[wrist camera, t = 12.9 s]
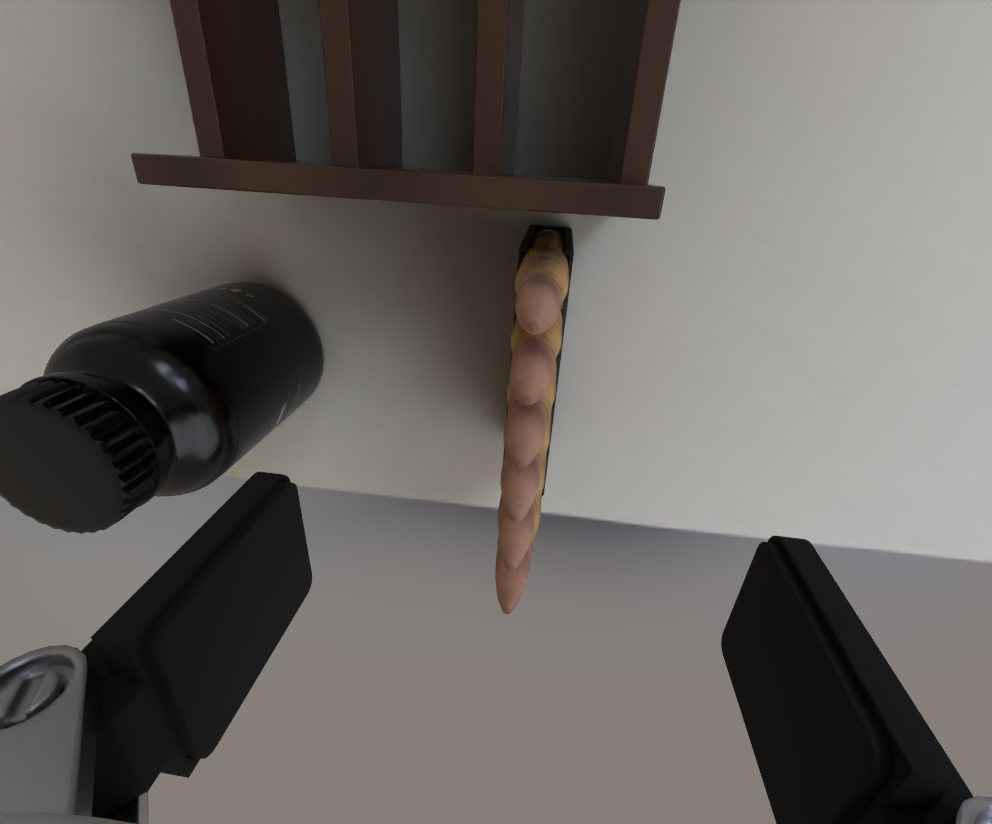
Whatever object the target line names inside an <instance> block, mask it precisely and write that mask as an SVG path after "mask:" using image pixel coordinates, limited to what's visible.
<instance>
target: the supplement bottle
mask: <svg viewBox="0 0 992 824" xmlns="http://www.w3.org/2000/svg"><path fill="white" fill-rule="evenodd" d="M323 364H324V357H323V349H322V345H321V341H320V338H319V335H318V333H317V331H316V329H315V327H314V325H313V323H312V322H311V320H310V319H309V317H308V316H307V315H306V314H305V312H304V311H303V310H302V309H301V308H300V307H299V306H298V305H297V304H296V303H295V302H294V301H292V300H291V299H290V298H288V297H287V296H285V295H284V294H282V293H281V292H279V291H277V290H275V289H273V288H270V287H268V286H265V285H261V284H257V283H251V282H234V283H229V284H224V285H221V286H217V287H213V288H210V289H207V290H204V291H201V292H197V293H194V294H191V295H188V296H185V297H181V298H178V299H175V300H172V301H169V302H166V303H162V304H159V305H156V306H153V307H150V308H147V309H143V310H140V311H137V312H134V313H131V314H127V315H124V316H121V317H118V318H115V319H112V320H108V321H105V322H102V323H99V324H96V325H93V326H91V327H88V328H85V329H83V330H80V331H78V332H77V333H75V334H73V335H71V336H70V337H69V338H67V339H66V340H65V341H63V342H62V343H61V344H60V345H59V347H58V348H57V349H56V350H55V352H54V353H53V354H52V356H51V358H50V359H49V361H48V363H47V366H46V368H45V371H44V375H43V376H41V377H38V378H35V379H33V380H30V381H28V382H26V383H25V384H23V385H22V386H21V387H20V388H18V389H16V390H13V391H10V392H8V393H5V394H3V395H1V396H0V496H2V497H3V498H4V499H6V500H7V501H8V502H9V503H10V505H11V506H13V507H15V508H17V509H19V510H20V511H21V512H22V513H23V514H25V515H26V516H29V517H32V518H33V519H35V520H36V521H37V522H39V523H42V524H46V525H48V526H50V527H52V528H54V529H61V530H64V531H66V532H77V533H81V534H82V533H85V532H90V533H94V532H96V531H98V530H105V529H107V528H109V527H110V526H112V525H113V524H115V523H117V522H119V521H120V520H121V519H123V518H124V517H125V516H127V515H128V514H129V513H130V512H132V511H133V510H134V509H135V508H137V507H139V506H141V505H143V504H145V503H146V502H148V501H149V500H150V499H151V498H153V497H154V496H175V495H182V494H186V493H190V492H194V491H196V490H199V489H201V488H203V487H205V486H207V485H209V484H210V483H212V482H213V481H214V480H216V479H217V478H218V477H220V476H221V475H222V474H223V473H225V472H226V471H227V470H228V469H229V468H230V467H231V466H232V465H234V464H235V463H236V462H237V461H238V460H239V459H240V458H242V457H243V456H244V455H245V454H246V453H247V452H248V451H249V450H251V449H252V448H253V447H254V446H255V445H256V444H257V443H258V442H260V441H261V440H262V439H263V438H264V437H265V436H266V435H268V434H269V433H270V432H271V431H272V430H273V429H274V428H275V427H277V426H278V425H279V424H280V423H281V422H282V421H283V420H284V419H286V418H287V417H288V416H289V415H290V414H291V413H292V412H294V411H295V410H296V409H297V408H298V407H299V406H300V405H301V404H302V403H303V402H304V401H306V400H307V399H308V398H309V397H310V395H311V394H312V393H313V392H314V390H315V389H316V388H317V386H318V384H319V381H320V379H321V376H322V372H323Z"/></svg>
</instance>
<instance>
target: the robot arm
mask: <svg viewBox="0 0 992 824" xmlns="http://www.w3.org/2000/svg"><path fill="white" fill-rule="evenodd" d="M311 583H312V572H311V566H310V561H309V555H308V549H307V543H306V537H305V531H304V525H303V520H302V514H301V509H300V502H299V497H298V490H297V486H296V485H295V484H294V483H291V482H290V479H289V478H288V476H286V475H282V474H274V473H266V472H257V473H255V474H254V475H253V476H252V477H251V478H250V479H249V480H248V481H247V482H246V483H245V484H244V485H243V486H242V487H241V488H240V489H239V490H238V491H237V492H236V493H235V494H234V495H233V496H232V497H231V498H230V499H229V500H228V501H227V502H226V503H225V504H224V505H223V506H222V507H221V508H220V509H219V510H218V511H217V512H216V513H215V514H214V515H213V516H212V517H211V518H210V519H209V520H208V521H207V522H206V523H205V524H204V525H203V526H202V527H201V528H200V529H199V530H198V531H197V532H196V533H195V534H194V535H193V536H192V537H191V538H190V539H189V540H188V541H187V542H186V543H185V544H184V545H183V546H182V547H181V548H180V549H179V550H178V551H177V552H176V553H175V554H174V555H173V556H172V557H171V558H170V559H169V560H168V561H167V562H166V563H165V564H164V565H163V566H162V567H161V568H160V569H159V570H158V571H157V572H156V573H155V574H154V575H153V576H152V577H151V578H150V579H149V580H148V581H147V582H146V583H145V584H144V585H143V586H142V587H141V588H140V589H139V590H138V591H137V592H136V593H135V594H134V595H133V596H132V597H131V598H130V599H129V600H128V601H127V602H126V603H125V604H124V605H123V606H122V607H121V608H120V609H119V610H118V611H117V612H116V613H115V614H114V615H113V616H112V617H111V618H110V619H109V620H108V621H107V622H106V623H105V624H104V625H103V626H102V627H101V628H100V629H99V630H98V631H97V632H96V633H95V634H94V635H93V636H92V637H91V638H92V641H91V642H90V643H89V644H88V645H87V646H86V647H85V648H84V649H83V650H82V651H80V650H79V649H78V648H74V647H71V646H67V645H60V646H48V647H44V648H41V649H37V650H33V651H30V652H28V653H26V654H23V655H21V656H19V657H16V658H14V659H12V660H10V661H8V662H7V663H5V664H4V665H2V666H0V824H148V790H149V789H150V787H151V786H152V784H153V783H154V781H155V780H156V778H157V777H158V775H159V774H160V772H161V773H166V774H172V775H177V776H182V777H189V776H190V775H191V773H192V772H193V770H194V768H195V766H196V765H197V763H198V762H199V760H200V758H201V759H202V758H203V759H204V758H206V757H208V756H209V755H210V754H211V753H212V752H213V750H214V749H215V747H216V746H217V744H218V742H219V741H220V739H221V737H222V736H223V734H224V733H225V731H226V729H227V728H228V726H229V724H230V723H231V721H232V719H233V718H234V716H235V714H236V713H237V711H238V709H239V708H240V706H241V704H242V703H243V701H244V699H245V698H246V696H247V694H248V693H249V691H250V689H251V688H252V686H253V684H254V683H255V681H256V679H257V677H258V676H259V674H260V673H261V671H262V669H263V667H264V666H265V664H266V662H267V661H268V659H269V657H270V656H271V654H272V652H273V651H274V649H275V647H276V646H277V644H278V642H279V641H280V639H281V637H282V636H283V634H284V632H285V631H286V629H287V627H288V626H289V624H290V622H291V621H292V619H293V617H294V615H295V614H296V612H297V611H298V609H299V607H300V606H301V604H302V602H303V601H304V599H305V597H306V596H307V594H308V592H309V590H310V587H311ZM721 643H722V644H721V646H722V652H723V656H724V659H725V663H726V666H727V669H728V672H729V675H730V678H731V681H732V685H733V688H734V691H735V694H736V697H737V701H738V703H739V707H740V710H741V713H742V716H743V719H744V722H745V725H746V729H747V732H748V735H749V738H750V741H751V744H752V748H753V751H754V754H755V757H756V760H757V764H758V767H759V770H760V773H761V776H762V779H763V782H764V786H765V789H766V792H767V795H768V798H769V801H770V805H771V808H772V811H773V814H774V817H775V820H776V823H777V824H992V797H983V796H975V797H973V795H972V794H971V792H970V790H969V789H968V787H967V786H966V784H965V783H964V781H963V779H962V778H961V776H960V775H959V773H958V772H957V770H956V768H955V767H954V766H953V764H952V762H951V761H950V759H949V758H948V756H947V754H946V753H945V751H944V750H943V748H942V747H941V745H940V743H939V742H938V740H937V739H936V737H935V736H934V734H933V733H932V731H931V729H930V728H929V726H928V725H927V723H926V722H925V720H924V719H923V717H922V715H921V714H920V712H919V711H918V709H917V708H916V706H915V705H914V703H913V701H912V700H911V698H910V697H909V695H908V694H907V692H906V690H905V689H904V687H903V686H902V684H901V683H900V681H899V680H898V678H897V676H896V675H895V673H894V672H893V670H892V669H891V667H890V665H889V664H888V662H887V661H886V659H885V658H884V656H883V655H882V653H881V651H880V650H879V648H878V647H877V645H876V644H875V642H874V641H873V639H872V637H871V636H870V634H869V633H868V631H867V630H866V628H865V627H864V625H863V624H862V622H861V621H860V619H859V617H858V616H857V614H856V613H855V611H854V610H853V608H852V606H851V605H850V603H849V602H848V600H847V599H846V598H845V595H844V594H843V592H842V591H841V589H840V588H839V586H838V585H837V583H836V581H835V580H834V578H833V577H832V575H831V574H830V572H829V570H828V569H827V567H826V566H825V564H824V563H823V562H822V560H821V558H820V556H819V555H818V553H817V552H816V550H815V549H814V547H813V545H812V544H811V543H810V542H809V541H807V540H805V539H798V538H790V537H781V536H772V537H771V538H770V539H769V540H768V542H762V543H760V544H759V546H758V548H757V550H756V553H755V555H754V558H753V560H752V563H751V565H750V568H749V570H748V572H747V575H746V578H745V580H744V582H743V585H742V587H741V590H740V592H739V595H738V597H737V600H736V602H735V604H734V607H733V610H732V612H731V614H730V617H729V619H728V622H727V624H726V627H725V629H724V632H723V635H722V642H721Z"/></svg>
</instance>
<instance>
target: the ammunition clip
mask: <svg viewBox="0 0 992 824" xmlns="http://www.w3.org/2000/svg"><path fill="white" fill-rule="evenodd" d="M573 255H574V250H573V236H572V229H571V228H569V227H555V226H542V225H530V226H529V228H528V230H527V232H526V235H525V237H524V239H523V241H522V244H521V246H520V248H519V258H518V271H517V275H516V278H515V291H516V298H515V311H514V325H513V331H512V334H511V348H512V351H511V365H510V378H509V382H508V387H507V400H508V405H507V418H506V426H505V430H504V458H503V466H502V471H501V491H502V494H501V499H500V505H499V510H498V528H499V536H498V550H497V557H496V589H497V595H498V600H499V603H500V606H501V608H502V610H503V612H504V613H505V614H509V613H511V611H512V610H513V609H514V608H515V606H516V605H517V603H518V601H519V599H520V597H521V595H522V592H523V590H524V587H525V584H526V581H527V577H528V573H529V568H530V561H531V552H532V550H533V543H534V537H535V534H536V532H537V529H538V526H539V521H540V512H541V498H542V496H543V495H544V489H545V480H546V472H547V464H548V456H549V448H550V440H551V432H552V424H553V416H554V408H555V400H556V392H557V384H558V376H559V368H560V360H561V352H562V344H563V336H564V328H565V319H566V311H567V303H568V295H569V287H570V279H571V271H572V263H573Z"/></svg>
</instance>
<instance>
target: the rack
mask: <svg viewBox="0 0 992 824" xmlns="http://www.w3.org/2000/svg"><path fill="white" fill-rule="evenodd" d="M680 1H681V0H632V5H631V12H630V19H629V26H628V33H627V40H626V47H625V54H624V61H623V68H622V75H621V82H620V89H619V96H618V103H617V110H616V117H615V124H614V131H613V138H612V145H611V152H610V159H609V166H608V173H607V180H599V179H583V178H567V177H551V176H535V175H519V174H514V158H515V143H516V127H517V112H518V96H519V80H520V65H521V49H522V34H523V18H524V3H525V0H478V8H477V41H476V75H475V108H474V142H473V172H472V171H456V170H440V169H424V168H408V167H403V162H402V127H401V92H400V57H399V22H398V0H319V6H320V18H321V30H322V41H323V53H324V64H325V76H326V88H327V99H328V111H329V122H330V134H331V146H332V157H333V163H329V162H313V161H297V160H296V157H295V148H294V139H293V131H292V122H291V114H290V105H289V97H288V88H287V79H286V71H285V62H284V54H283V45H282V37H281V28H280V20H279V11H278V2H277V0H170V3H171V8H172V13H173V18H174V24H175V29H176V34H177V39H178V44H179V49H180V54H181V59H182V64H183V70H184V75H185V80H186V85H187V90H188V95H189V100H190V105H191V111H192V116H193V121H194V126H195V131H196V136H197V141H198V146H199V152H200V156H190V155H166V154H143V153H133V154H131V157H132V161H133V165H134V169H135V173H136V177H137V181H138V183H140V184H149V185H164V186H178V187H192V188H207V189H221V190H236V191H250V192H265V193H279V194H294V195H308V196H323V197H337V198H351V199H366V200H380V201H395V202H409V203H424V204H438V205H453V206H467V207H482V208H496V209H510V210H525V211H539V212H554V213H568V214H583V215H597V216H612V217H626V218H641V219H655V220H657V219H659V218H660V215H661V210H662V205H663V200H664V194H665V187H662V186H655V185H648V180H649V175H650V169H651V163H652V158H653V152H654V147H655V141H656V135H657V130H658V124H659V118H660V113H661V107H662V102H663V96H664V90H665V85H666V79H667V74H668V68H669V62H670V57H671V51H672V46H673V40H674V34H675V29H676V23H677V18H678V12H679V6H680Z"/></svg>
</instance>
